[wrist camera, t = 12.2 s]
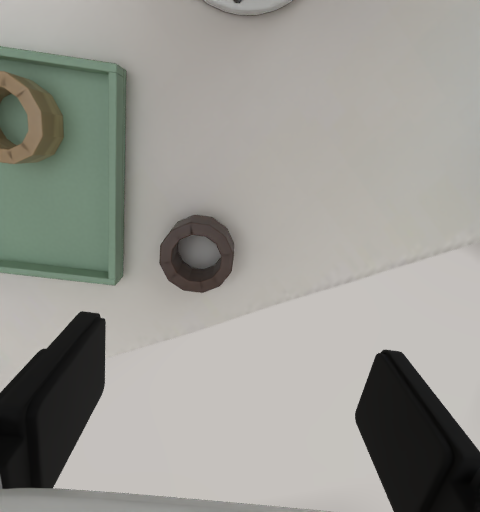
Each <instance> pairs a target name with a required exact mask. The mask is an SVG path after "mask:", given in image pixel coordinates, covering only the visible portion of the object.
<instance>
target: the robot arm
mask: <svg viewBox="0 0 480 512" xmlns="http://www.w3.org/2000/svg"><path fill="white" fill-rule="evenodd" d="M204 1H205V2H206V3H208V4H209V5H211V6H214V7H216V8H218V9H220V10H222V11H225V12H229V13H234V14H238V15H258V14H263V13H267V12H271V11H274V10H276V9H278V8H280V7H282V6H285V5H287V4H289V3H290V2H291V1H293V0H241V2H240V3H235V1H234V0H204ZM105 324H106V323H105V319H103V318H101V317H100V314H99V313H91V312H83V311H82V312H80V313H78V315H77V316H76V317H75V318H74V319H73V320H72V321H71V322H70V323H69V325H68V326H67V327H66V328H65V329H64V330H63V331H62V332H61V333H60V335H59V336H58V337H57V338H56V339H55V340H54V341H53V342H52V343H51V345H50V346H49V347H48V348H47V349H42V350H40V351H39V352H38V353H37V354H36V355H35V356H34V357H33V358H32V359H31V360H30V361H29V362H28V364H27V365H26V366H25V367H24V368H23V369H22V370H21V371H20V372H19V373H18V374H17V375H16V377H15V378H14V379H13V380H12V381H11V382H10V383H9V384H8V385H7V386H6V387H5V388H4V389H3V391H2V392H1V393H0V512H330V511H320V510H308V509H298V508H287V507H276V506H265V505H254V504H244V503H232V502H221V501H210V500H199V499H186V498H175V497H163V496H151V495H139V494H128V493H116V492H100V491H86V490H69V489H53V487H54V485H55V483H56V481H57V479H58V477H59V475H60V473H61V471H62V469H63V468H64V466H65V464H66V462H67V460H68V458H69V456H70V454H71V452H72V450H73V449H74V447H75V445H76V443H77V441H78V439H79V437H80V435H81V433H82V431H83V429H84V428H85V426H86V424H87V422H88V420H89V418H90V416H91V414H92V412H93V410H94V408H95V406H96V405H97V403H98V401H99V399H100V397H101V395H102V393H103V389H104V384H105ZM355 419H356V424H357V426H358V428H359V431H360V433H361V435H362V438H363V440H364V442H365V445H366V447H367V450H368V452H369V454H370V457H371V459H372V461H373V464H374V466H375V468H376V471H377V473H378V475H379V478H380V480H381V483H382V485H383V487H384V489H385V492H386V494H387V497H388V499H389V501H390V504H391V506H392V508H393V511H394V512H480V452H479V450H478V449H477V448H476V446H475V445H474V444H473V443H472V441H471V440H470V439H469V437H468V436H467V435H466V434H465V432H464V431H463V430H462V428H461V427H460V426H459V425H458V423H457V422H456V421H455V419H454V418H453V417H452V416H451V414H450V413H449V412H448V410H447V409H446V408H445V407H444V405H443V404H442V403H441V402H440V400H439V399H438V398H437V397H436V395H435V394H434V393H433V392H432V390H431V389H430V387H429V386H428V385H427V384H426V382H425V381H424V380H423V379H422V377H421V376H420V375H419V373H418V372H417V371H416V369H415V368H414V367H413V366H412V364H411V363H410V362H409V360H408V359H407V358H406V357H405V355H404V354H403V353H402V352H399V351H391V350H383V351H382V352H381V353H378V354H377V355H376V357H375V359H374V362H373V365H372V368H371V371H370V373H369V376H368V379H367V382H366V384H365V387H364V390H363V393H362V395H361V398H360V401H359V404H358V407H357V409H356V413H355Z"/></svg>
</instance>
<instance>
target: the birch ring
mask: <svg viewBox="0 0 480 512" xmlns="http://www.w3.org/2000/svg"><path fill="white" fill-rule="evenodd" d="M10 94H13V95H14V96H16V97H17V98H18V99H19V101H20V103H21V104H22V106H23V108H24V110H25V111H26V113H27V117H28V132H27V134H26V136H25V138H24V140H23V142H22V143H21V144H19V145H15V144H14V143H12V142H11V141H9V140H8V139H7V138H6V137H5V135H4V133H3V132H2V130H1V129H0V162H1V163H8V164H22V163H35V162H40V161H42V160H44V159H46V158H48V157H50V156H52V155H54V154H55V152H56V151H57V149H58V147H59V145H60V143H61V142H62V140H63V138H64V131H63V115H62V113H61V111H60V109H59V108H58V106H57V104H56V102H55V100H54V98H53V97H52V95H51V94H50V93H48V92H47V91H46V90H44V89H43V88H42V87H40V86H39V85H38V84H36V83H35V82H34V81H32V80H29V79H26V78H23V77H20V76H17V75H14V74H11V73H8V72H5V71H0V103H1V101H2V99H3V98H4V97H6V96H8V95H10Z"/></svg>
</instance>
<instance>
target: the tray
mask: <svg viewBox="0 0 480 512" xmlns="http://www.w3.org/2000/svg"><path fill="white" fill-rule="evenodd" d="M0 71H5V72H8V73H11V74H14V75H17V76H20V77H23V78H26V79H29V80H32V81H34V82H35V83H36V84H38V85H39V86H40V87H42V88H43V89H44V90H46V91H47V92H48V93H50V94H51V95H52V97H53V98H54V100H55V102H56V104H57V106H58V108H59V109H60V111H61V113H62V115H63V131H64V138H63V140H62V142H61V143H60V145H59V147H58V149H57V151H56V152H55V154H54V155H52V156H50V157H48V158H46V159H44V160H42V161H40V162H35V163H22V164H8V163H1V162H0V273H8V274H17V275H26V276H35V277H44V278H53V279H61V280H70V281H79V282H88V283H97V284H106V285H116V284H117V283H118V282H119V280H120V279H121V278H122V277H123V239H124V175H125V110H126V70H125V69H123V68H122V67H120V66H119V65H117V64H115V63H109V62H102V61H95V60H89V59H82V58H75V57H68V56H62V55H55V54H48V53H42V52H35V51H28V50H22V49H15V48H8V47H2V46H0ZM0 129H1V130H2V132H3V133H4V135H5V137H6V138H7V139H8V140H9V141H11V142H12V143H14V144H15V145H19V144H21V143H22V142H23V140H24V138H25V136H26V134H27V132H28V117H27V113H26V111H25V110H24V108H23V106H22V104H21V103H20V101H19V99H18V98H17V97H16V96H14V95H13V94H10V95H8V96H6V97H4V98H3V99H2V101H1V103H0Z"/></svg>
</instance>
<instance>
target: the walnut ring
mask: <svg viewBox="0 0 480 512" xmlns="http://www.w3.org/2000/svg"><path fill="white" fill-rule="evenodd" d="M190 235H199V236H206V237H207V238H209V239H210V240H211V241H213V242H214V243H216V245H217V247H218V249H219V251H220V254H221V258H220V259H219V260H218V262H217V263H216V264H215V265H214V266H211V267H209V268H206V269H195V268H192V267H190V266H189V265H187V264H186V263H184V262H183V261H182V259H181V257H180V255H179V253H178V242H179V240H180V239H183V238H185V237H187V236H190ZM233 257H234V243H233V241H232V238H231V236H230V234H229V231H228V229H227V228H226V227H225V226H224V225H222V224H221V223H219V222H218V221H217V220H215V219H214V218H212V217H207V216H199V215H193V216H190V217H188V218H186V219H183V220H181V221H178V222H177V223H176V225H175V226H174V227H173V228H172V230H171V231H170V233H169V234H168V235H167V237H166V238H165V239H164V241H163V242H162V244H161V246H160V265H161V267H162V269H163V271H164V273H165V275H166V277H167V279H168V280H169V281H170V282H172V283H173V284H175V285H176V286H178V287H179V288H181V289H182V290H185V291H193V292H206V291H209V290H211V289H214V288H216V287H219V286H220V285H221V284H222V283H223V282H224V280H225V279H226V278H227V277H228V276H229V274H230V273H231V271H232V264H233Z"/></svg>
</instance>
